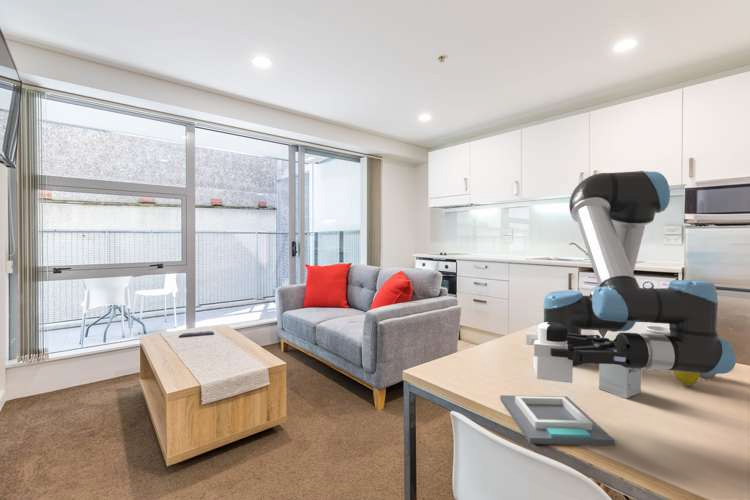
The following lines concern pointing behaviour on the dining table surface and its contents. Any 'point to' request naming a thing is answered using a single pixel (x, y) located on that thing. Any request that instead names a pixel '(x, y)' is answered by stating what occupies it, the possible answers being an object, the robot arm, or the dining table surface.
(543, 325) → the medicine bottle
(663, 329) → the dixie cup
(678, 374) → the lemon
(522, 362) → the dining table surface
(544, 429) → the dock
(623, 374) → the supplement box
